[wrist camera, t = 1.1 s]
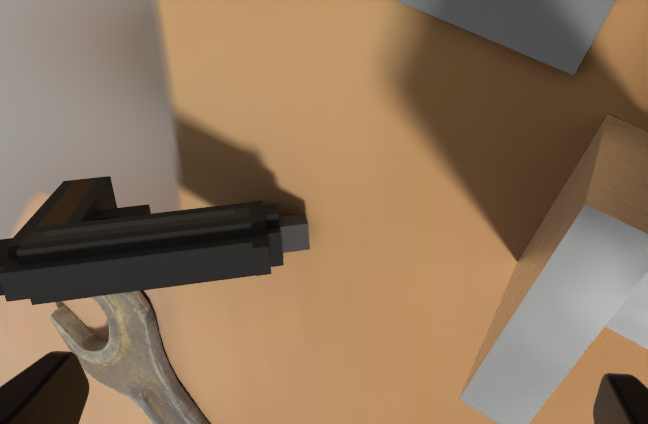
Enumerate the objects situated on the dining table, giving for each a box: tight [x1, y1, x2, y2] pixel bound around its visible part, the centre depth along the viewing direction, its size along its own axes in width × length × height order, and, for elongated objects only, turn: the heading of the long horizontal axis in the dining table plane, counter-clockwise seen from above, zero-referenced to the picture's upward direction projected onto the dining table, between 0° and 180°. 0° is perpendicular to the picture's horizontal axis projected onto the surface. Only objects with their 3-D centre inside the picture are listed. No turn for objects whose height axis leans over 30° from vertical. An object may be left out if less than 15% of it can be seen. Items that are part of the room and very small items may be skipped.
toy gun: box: [0, 176, 310, 305], centre depth 26 cm, size 2×13×10 cm
